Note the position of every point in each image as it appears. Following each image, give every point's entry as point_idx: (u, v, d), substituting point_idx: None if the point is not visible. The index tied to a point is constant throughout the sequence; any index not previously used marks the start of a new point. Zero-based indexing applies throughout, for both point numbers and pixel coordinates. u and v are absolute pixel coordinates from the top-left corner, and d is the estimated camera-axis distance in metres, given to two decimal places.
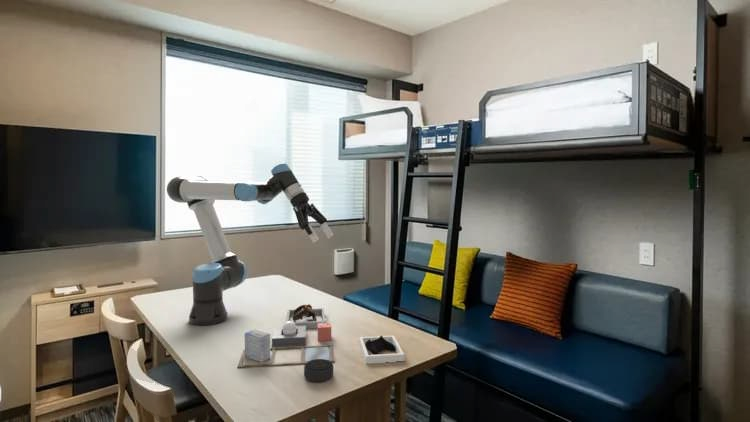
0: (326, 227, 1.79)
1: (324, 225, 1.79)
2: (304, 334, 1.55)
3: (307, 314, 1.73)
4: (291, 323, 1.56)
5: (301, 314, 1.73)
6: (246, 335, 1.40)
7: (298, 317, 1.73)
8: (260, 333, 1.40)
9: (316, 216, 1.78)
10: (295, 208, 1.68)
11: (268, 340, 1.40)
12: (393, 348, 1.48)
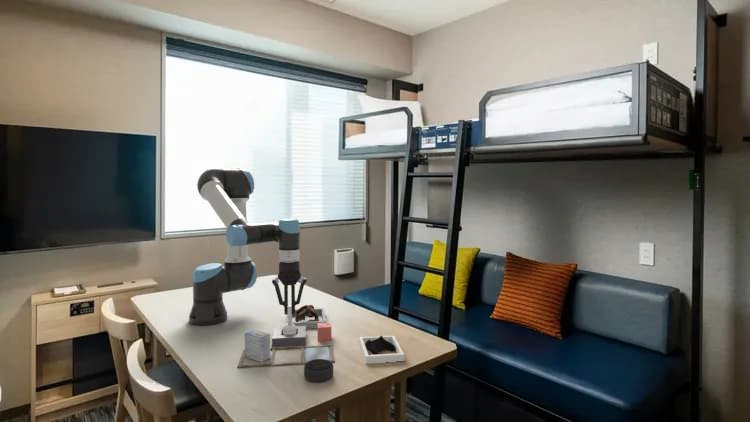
0: None
1: None
2: (304, 334, 1.55)
3: (310, 314, 1.73)
4: (291, 325, 1.56)
5: (304, 315, 1.72)
6: (246, 335, 1.40)
7: (301, 318, 1.72)
8: (260, 333, 1.40)
9: (291, 292, 1.56)
10: None
11: (268, 340, 1.40)
12: (393, 348, 1.48)
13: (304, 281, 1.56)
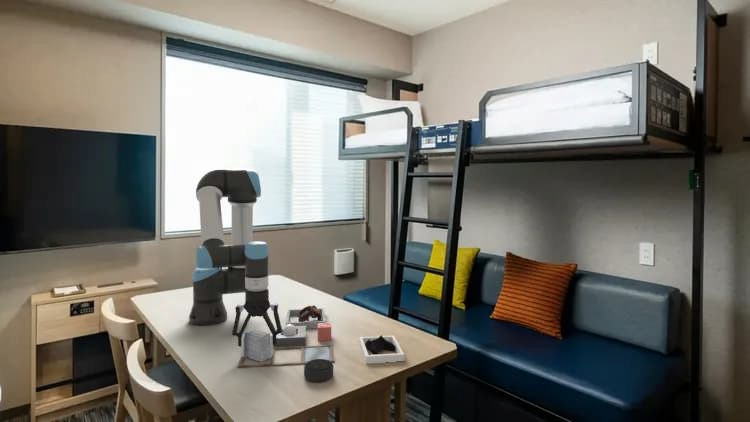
0: (270, 342, 1.41)
1: (270, 338, 1.41)
2: (304, 334, 1.55)
3: (313, 315, 1.72)
4: (291, 326, 1.56)
5: (307, 315, 1.71)
6: (246, 335, 1.40)
7: (304, 318, 1.71)
8: (260, 333, 1.40)
9: None
10: None
11: (269, 340, 1.40)
12: (393, 347, 1.48)
13: (275, 308, 1.40)
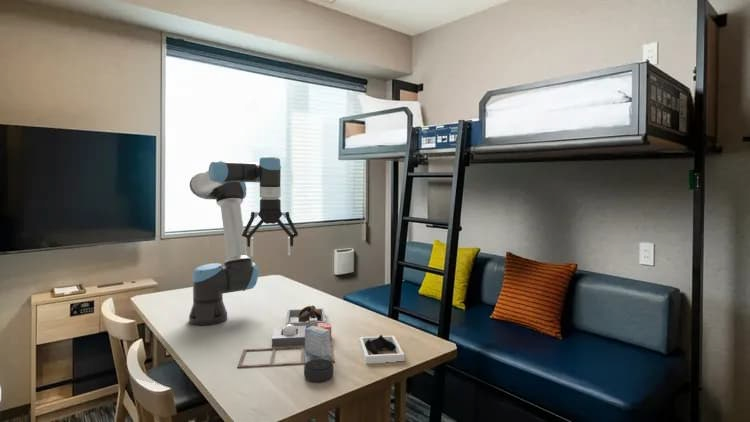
0: (288, 244, 1.57)
1: (288, 240, 1.57)
2: (304, 334, 1.55)
3: (314, 315, 1.72)
4: (291, 326, 1.56)
5: (308, 315, 1.71)
6: (306, 331, 1.44)
7: (305, 319, 1.71)
8: (320, 330, 1.43)
9: (282, 228, 1.57)
10: None
11: (329, 336, 1.43)
12: (393, 347, 1.48)
13: (287, 214, 1.56)
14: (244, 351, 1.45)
